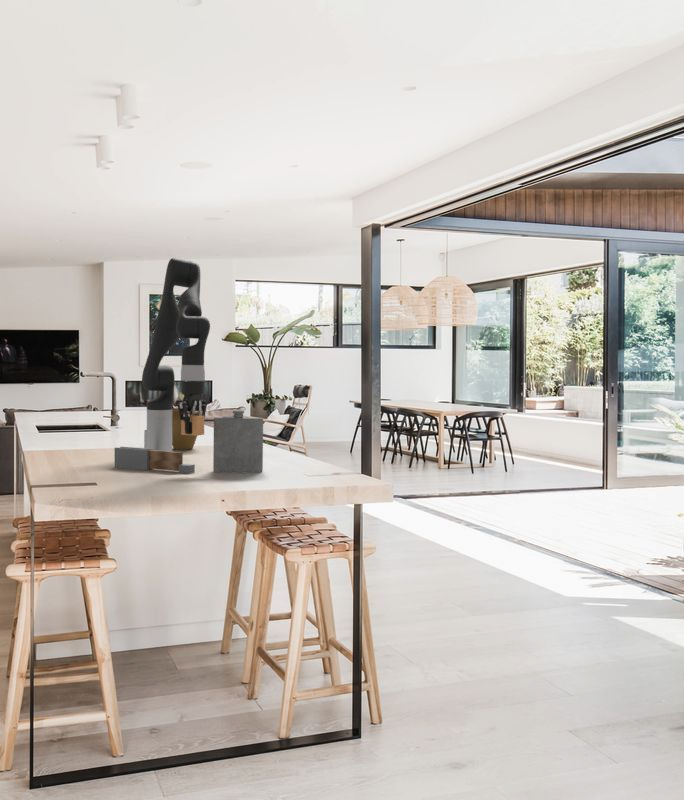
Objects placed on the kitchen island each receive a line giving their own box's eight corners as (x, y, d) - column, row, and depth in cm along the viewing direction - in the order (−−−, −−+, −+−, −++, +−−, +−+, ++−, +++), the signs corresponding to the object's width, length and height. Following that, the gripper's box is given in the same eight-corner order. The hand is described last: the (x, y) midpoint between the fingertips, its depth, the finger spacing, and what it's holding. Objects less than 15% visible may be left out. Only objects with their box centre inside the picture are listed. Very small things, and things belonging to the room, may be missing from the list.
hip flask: (262, 471, 281) (263, 410, 280) (262, 472, 277) (263, 411, 276) (213, 470, 280) (214, 409, 279) (212, 472, 276) (213, 410, 275)
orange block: (181, 434, 272) (181, 415, 272) (188, 433, 276) (188, 415, 275) (197, 435, 270) (197, 416, 269) (204, 434, 273) (204, 415, 273)
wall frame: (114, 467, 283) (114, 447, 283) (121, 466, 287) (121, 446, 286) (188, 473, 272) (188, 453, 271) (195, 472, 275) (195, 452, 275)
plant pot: (208, 448, 343) (209, 408, 342) (189, 452, 329) (189, 410, 328) (176, 446, 348) (176, 406, 348) (156, 449, 335) (156, 409, 334)
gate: (144, 468, 280) (144, 450, 280) (146, 467, 281) (146, 449, 281) (180, 471, 274) (180, 452, 274) (182, 470, 276) (182, 452, 275)
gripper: (195, 378, 280) (195, 431, 281) (169, 379, 267) (169, 434, 268) (214, 379, 277) (214, 432, 278) (190, 380, 264) (190, 435, 265)
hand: (192, 433), depth 273 cm, fingers closed on orange block, 4 cm apart
